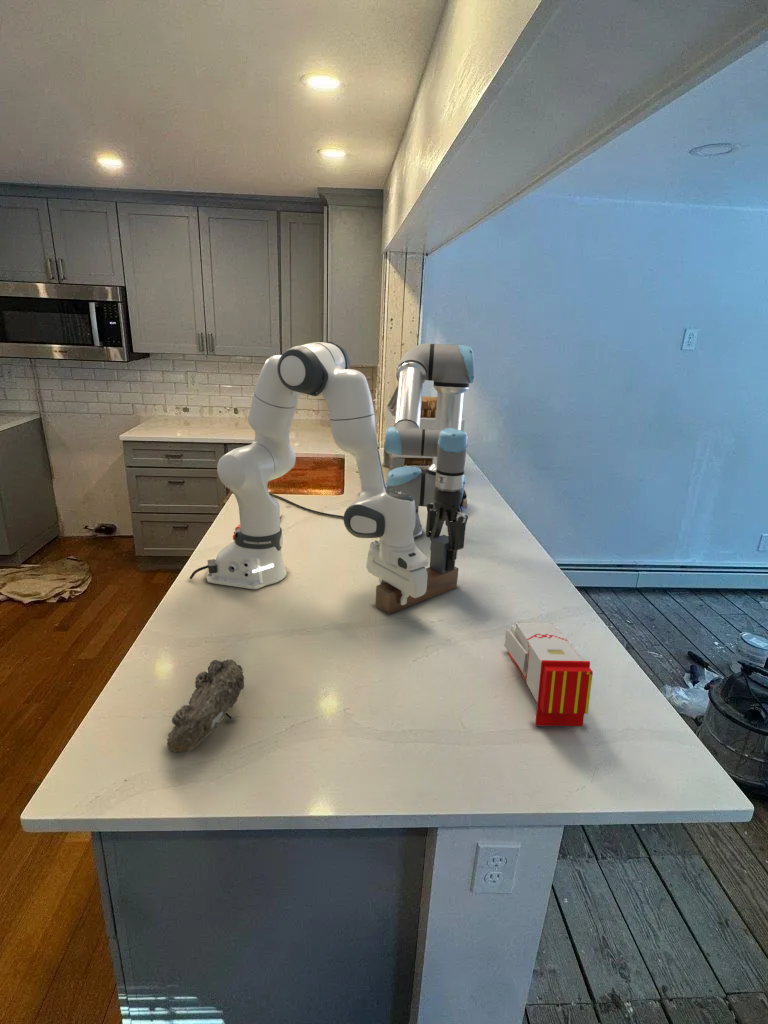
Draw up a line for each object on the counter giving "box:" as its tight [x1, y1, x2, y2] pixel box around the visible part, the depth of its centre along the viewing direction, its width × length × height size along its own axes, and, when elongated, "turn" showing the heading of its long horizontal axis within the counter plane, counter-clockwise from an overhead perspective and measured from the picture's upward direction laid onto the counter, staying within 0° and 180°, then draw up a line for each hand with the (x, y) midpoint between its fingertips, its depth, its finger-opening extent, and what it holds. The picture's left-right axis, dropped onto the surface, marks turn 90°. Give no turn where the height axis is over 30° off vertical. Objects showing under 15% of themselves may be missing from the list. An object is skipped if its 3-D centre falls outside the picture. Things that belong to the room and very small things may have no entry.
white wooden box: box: [383, 385, 465, 472], centre depth 268 cm, size 34×33×41 cm
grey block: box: [429, 534, 456, 574], centre depth 159 cm, size 5×5×9 cm
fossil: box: [166, 658, 245, 754], centre depth 106 cm, size 22×10×15 cm
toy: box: [503, 622, 594, 727], centre depth 121 cm, size 12×13×30 cm
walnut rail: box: [374, 566, 459, 615], centre depth 156 cm, size 6×26×6 cm, turn 131°
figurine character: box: [460, 489, 468, 512], centre depth 228 cm, size 7×8×15 cm
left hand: (393, 598), depth 151 cm, fingers closed on walnut rail, 5 cm apart
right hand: (442, 566), depth 160 cm, fingers closed on grey block, 5 cm apart
